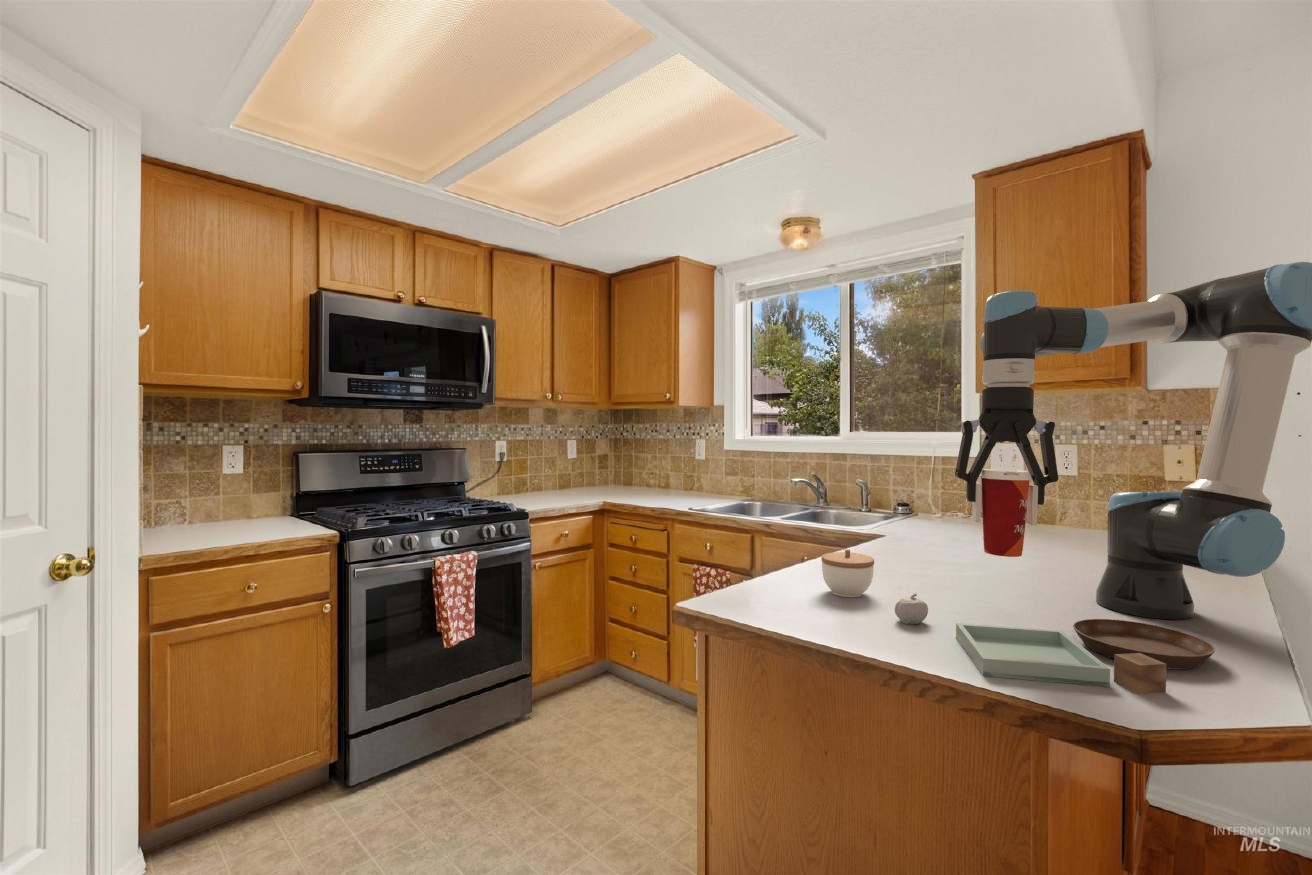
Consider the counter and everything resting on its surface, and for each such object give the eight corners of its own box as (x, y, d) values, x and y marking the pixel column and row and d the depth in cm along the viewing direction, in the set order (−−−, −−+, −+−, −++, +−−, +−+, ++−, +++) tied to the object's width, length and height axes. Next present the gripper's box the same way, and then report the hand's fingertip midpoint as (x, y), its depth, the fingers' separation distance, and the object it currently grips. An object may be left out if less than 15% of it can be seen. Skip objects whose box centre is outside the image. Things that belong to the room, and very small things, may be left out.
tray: (1062, 645, 101) (1062, 630, 101) (1109, 686, 85) (1110, 668, 85) (955, 637, 105) (956, 623, 104) (982, 675, 89) (983, 658, 89)
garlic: (914, 616, 116) (914, 589, 116) (935, 625, 111) (935, 596, 111) (887, 619, 114) (887, 591, 114) (907, 628, 109) (908, 599, 109)
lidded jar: (879, 591, 133) (879, 548, 133) (866, 603, 124) (867, 557, 124) (829, 584, 139) (830, 542, 139) (814, 595, 130) (814, 551, 130)
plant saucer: (1089, 627, 111) (1090, 610, 111) (1222, 655, 98) (1223, 636, 97) (1058, 651, 99) (1058, 632, 99) (1204, 687, 86) (1205, 665, 86)
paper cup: (1036, 559, 99) (1039, 472, 99) (984, 556, 101) (986, 470, 101) (1020, 550, 107) (1022, 469, 106) (971, 547, 109) (974, 467, 108)
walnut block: (1139, 680, 88) (1139, 652, 88) (1165, 693, 84) (1166, 663, 84) (1113, 682, 87) (1114, 654, 87) (1139, 694, 83) (1140, 665, 83)
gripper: (944, 385, 102) (941, 522, 103) (1087, 385, 97) (1082, 530, 97) (937, 387, 109) (933, 516, 110) (1069, 387, 104) (1065, 522, 105)
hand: (1003, 522), depth 104 cm, fingers closed on paper cup, 8 cm apart
